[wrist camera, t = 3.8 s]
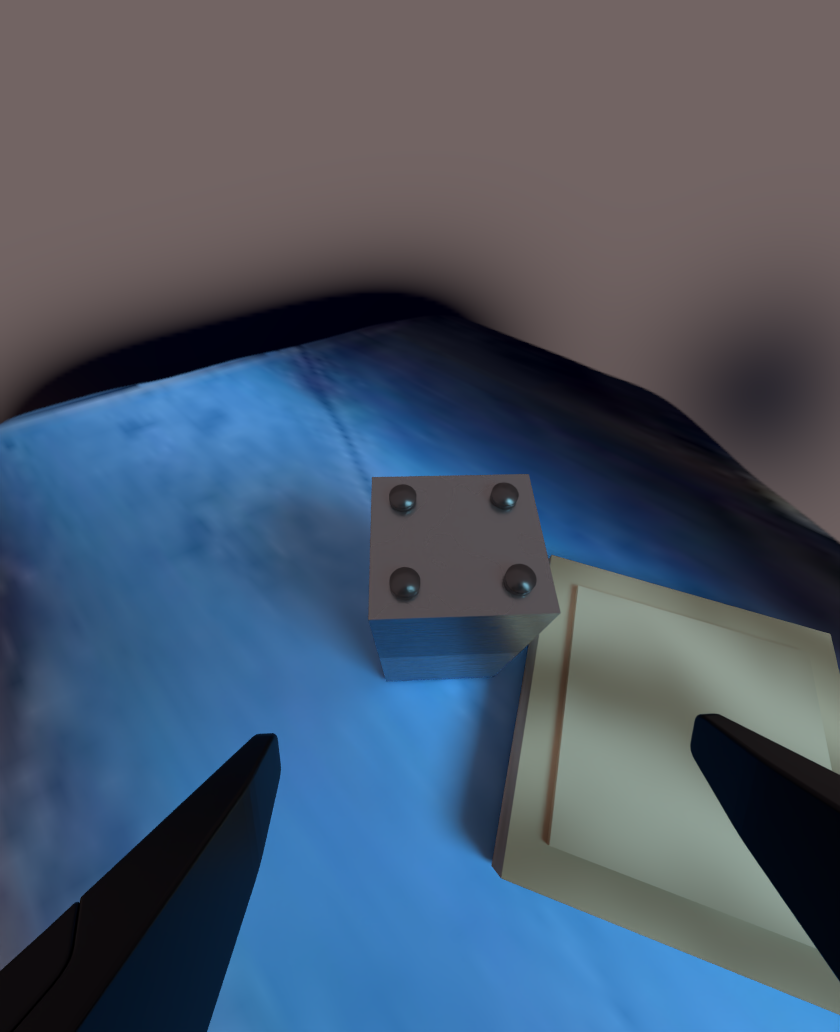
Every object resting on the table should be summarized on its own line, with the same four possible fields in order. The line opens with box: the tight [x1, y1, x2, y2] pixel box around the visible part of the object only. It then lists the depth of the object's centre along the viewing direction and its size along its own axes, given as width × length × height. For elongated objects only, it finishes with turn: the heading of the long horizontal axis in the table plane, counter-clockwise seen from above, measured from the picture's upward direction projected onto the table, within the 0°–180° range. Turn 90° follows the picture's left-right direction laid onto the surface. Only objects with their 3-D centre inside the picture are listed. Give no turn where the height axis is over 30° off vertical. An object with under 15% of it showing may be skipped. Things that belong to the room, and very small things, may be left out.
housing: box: [368, 474, 561, 682], centre depth 17 cm, size 5×6×11 cm
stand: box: [492, 555, 840, 1015], centre depth 18 cm, size 14×14×2 cm
